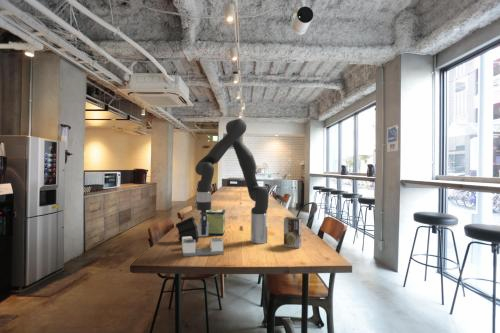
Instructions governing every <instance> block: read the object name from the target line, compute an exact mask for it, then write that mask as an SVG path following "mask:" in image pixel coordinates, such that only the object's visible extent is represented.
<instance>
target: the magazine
mask: <svg viewBox="0 0 500 333" xmlns="http://www.w3.org/2000/svg"><path fill="white" fill-rule="evenodd" d="M195 219H196V218H195V217H194V216H191V217H188V218H186V219H184V220H181V221H180V222H179V221H178V222H177V223H176V224H175V228H177V230H178V232H177V235H178V236H179V237H178V242H179V243H182V237H188V236H191V237H192V238H193V239H195V242H196V244H197V243H198V242H199V238H200V236H198V225H197V223H196V221H195Z"/></svg>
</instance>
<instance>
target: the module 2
mask: <svg viewBox="0 0 500 333" xmlns="http://www.w3.org/2000/svg"><path fill="white" fill-rule="evenodd" d="M203 225H205V223H203ZM208 228H209V223H208V222H207V227H206V235H202V234H201V223H200V221H198V222H197V231H198V236H199V237H209V235H208Z"/></svg>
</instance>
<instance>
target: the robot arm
mask: <svg viewBox="0 0 500 333" xmlns="http://www.w3.org/2000/svg"><path fill="white" fill-rule="evenodd" d="M225 131H226V135H225V136H223V138H221V139H220V140H219V141H217V143H215V144H214V145H213V147H212V148H211V149H210V150H209V152H208V153H207V154H206V155H205V156H204V157H202V158H201V159H200V160H199V161H198V163H196V165H195V169H194V170H195V173H196V174H197V175H199V176H201V178H200V180H198V181H197V188H196V189H197V190H196V205H195V206H196V207H195V209H196V210H197V211H200V212H199V222H200V223H201V234H202V235H206V227H207V217H208V214H207V213H206V211H207V210H212V181H213V177H214V174H215V168H214V165H215V164H218V163H219V162H220V161H221V159H222V158H223V157H224V155H225V154H226V152H227V151H228V150H229V149H230V148H231V147H233V149H234V152H235V156H236V157H237V161H238V165H239V167H240V169H241V172H242V175H243V177H244V178H243V179H244V181H245V183H246V188H247V193H248V196H249V198H250V200H252V201H253V202H254V206H253V207H251V212H250V213H251V214H250V220H251V221H250V242H251V243H252V244H258V245H259V244H265V243H268V225H267V210H269V208H268V207H269V198H270V197H269V196H270V195H269V190H268V189H267V188H266V187H265V186H259V183H258V180H257V178H256V176H257V175H256V174H257V164H256V161H255V158H254V155H253V153H252V151H251V150H250V149H249V148H248V147H247V145H246V144H245V143H244V142H243V139H242V135H244V134H245V132H246V131H247V123H246V121H245V120H243V119H241V118H236V119H233V120H230V121H228V122H227V123H226V125H225ZM203 223H205V225H203Z"/></svg>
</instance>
